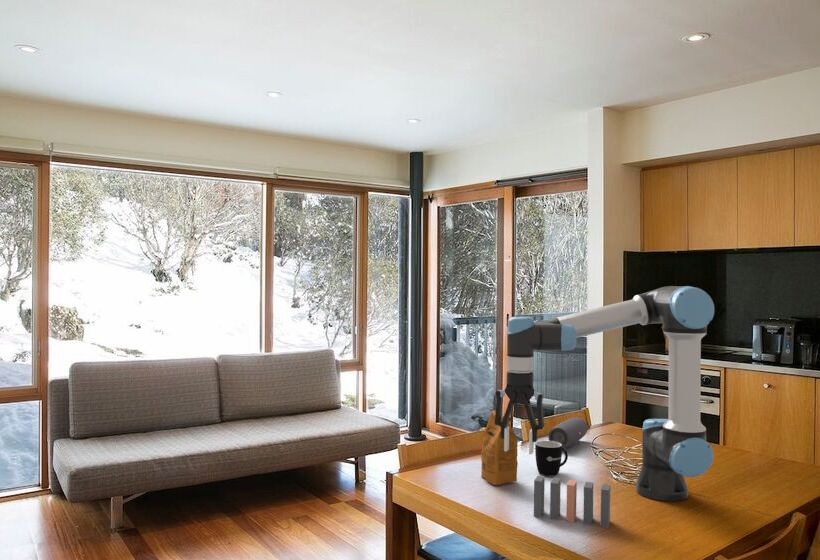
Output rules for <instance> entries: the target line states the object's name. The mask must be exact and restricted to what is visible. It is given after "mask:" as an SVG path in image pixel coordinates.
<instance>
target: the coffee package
mask: <svg viewBox="0 0 820 560" xmlns="http://www.w3.org/2000/svg"><path fill="white" fill-rule="evenodd" d="M495 414H496V410H492V411H491V413H490V416H489V419H488V422H487V425H486V427H485V430H484V433H483V439H482V445H481V446H482V447H481V454H480V456H481V460H480V461H481V478H484V479H485V481H486V482H487V483H489V484H492V485H493V486H500V485H503V484H511V483H512V484H513V483H514V482H517V481H518V475H517V474H518V465H519V464H518V437H517V435H516V433H515V430H514V429H513V428H512V426H511V423H510V422H512V420H513V419H512V417H511V416H510V417H509V420H508V422H507V425H506V427H509V450H508V451H504V439H502V438H501V427H500V426H498V425H495ZM503 417H504V416H503V415H501V421H502V420H503Z"/></svg>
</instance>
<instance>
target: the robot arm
mask: <svg viewBox="0 0 820 560" xmlns="http://www.w3.org/2000/svg"><path fill="white" fill-rule="evenodd" d="M714 316H715V303H714V302H713V299H712V298H711V296H710V295H709V294H708V293H707V292H706V291H705V290H703V289H701V288H699V287H694V286H689V285H686V286H685V285H684V286H683V285H682V286H678V285H677V286H676V285H668V286H663V287H659V288H656V289H653V290H650V291H647V292H644V293H643V292H642V293H640V294H636V295H634V296H633V298H632V299H629V300H624V301H620V302H616V303H612V304H607V305H602V306H599V307H596V308H595V307H594V308H591V309H587V310H583V311H582V310H581V311H578V312H573V313H570V314H565V315H562V316H558V317H553V318H549V319H544V320H543V319H538V320H535V319H534V318H533V317H531V316H512V317H511V316H510V318H509V319H507V327H506V330H507V331H506V344H507V345H506V352H507V353H506V370H507V372H506V386H505V388H503V389H498V390H495V396H496V404H495V405H496V406H495V412H496V414H495V425H498V426H500V427H501V438H502V439H504V451H508V450H509V427H506V425H507V422H508V420H509V417H510V418H511V414H512V412H513V408H514V406H515V405H517V404H520V405H523V406H524V409H525V412H526V414H527V418H528V421H529V424H530V428H531V429H530V430H529V432H528V455H533V454H534V452H535V451H534V450H535V448H534V447H535V444H534V443H536V442H538V431H539V430H542V429H544V428H545V419H544V416H545V415H544V407H543V405H544V403H543V399H544V396H545V394H544V393H543V392H537V391H535V389H534V373H533V370H534V351H561V352H564V351H573V350H575V348H576V345H577V340H578V339H579V338H582V337H586V336H590V335H594V334H598V333H603V332H607V331H612V330H615V329H619V328H625V327H628V326H629V327H630V326H632V325H637V324H640V325H642V326H648V325H650V324H651V325H652V324H662V329H663V330H662V331H663V334H664V335H666V337H667V338H668V415H667V416H668V418H648V419H645V420H644V421H643V422H642V423H643V425H642V430H641V432H642V449H641V450H642V455H641V456H642V459H641V461H642V465H641V469H640V472H639V474H638V477H637V480H636V483H635V491H636V493H637V494H639V495H641V496H643V497H645V498H648V499H652V500H657V501H663V502H681V501H685V500H687V499H688V498H689V487H688V483H687V482H686V477H688V478H697V477H700V476H702V475H704V474H705V473H706V472H707V471H708V470H709V469H710V468H711V467H712V464H713V463H714V462H713V461H714V450H713V447H712V446H711V444H710V443H709V442H708V441H707V428H706V426H705V425H703V423H702V421H701V396H702V395H701V390H702V389H701V384H702V382H701V376H702V375H701V374H702V373H701V369H702V366H701V365H702V364H701V360H702V359H701V357H702V356H701V355H702V353H701V352H702V349H701V348H702V341H701V340H702V339H703V337H705V336H706V335H707V331H708V330H707V329H708V325H709V324H710V322H711V321H712V320H713V318H714ZM577 338H578V339H577ZM505 395H506V396H507V398H508V399H509V400H508V403H507V407H506V410H505V413H504V414H503V413H502V412H503V403H504V402H503V401H504V397H505ZM533 396H534V399H535V400H536V413H537V414H536V415H537V419H536V417H535V414H534V411H533V407H532V403H531V399H532V398H533ZM502 415H504V417H503V420H502V421H501V416H502ZM680 500H681V501H680Z"/></svg>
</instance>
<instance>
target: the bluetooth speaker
mask: <svg viewBox="0 0 820 560" xmlns="http://www.w3.org/2000/svg"><path fill="white" fill-rule="evenodd" d="M588 430H589V429H588V424H587V422H586V421H585V420H584V419H583V418H581V417H578V416H576V417H575V416H574V417H571V418H569V419H566V420H564V421H562V422H560V423H558V424H557V425H555V426H554V427H553V428H551V430H550V431H549V433H548V441H555V442H558V443H561V444H562V448H564V449H565V450H569V449H570V448H572V447H574V446H575V445H576V443H577V442H579V441H580V440H582V439H583V438H584V437H585V436H586V434H587V432H588Z"/></svg>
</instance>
